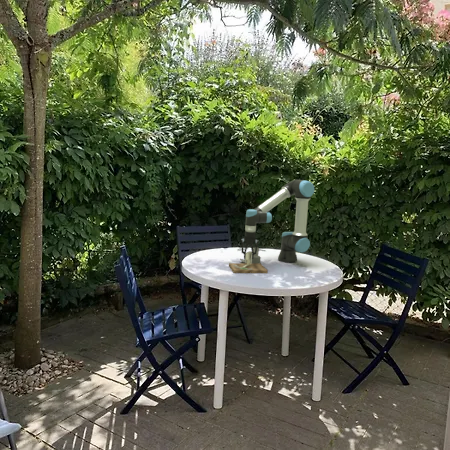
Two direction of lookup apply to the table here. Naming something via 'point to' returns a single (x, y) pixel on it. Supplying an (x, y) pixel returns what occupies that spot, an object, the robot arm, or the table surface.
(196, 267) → the table surface
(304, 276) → the table surface
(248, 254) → the cream pointer block
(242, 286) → the table surface
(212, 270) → the table surface
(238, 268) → the tuner board
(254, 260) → the camera
